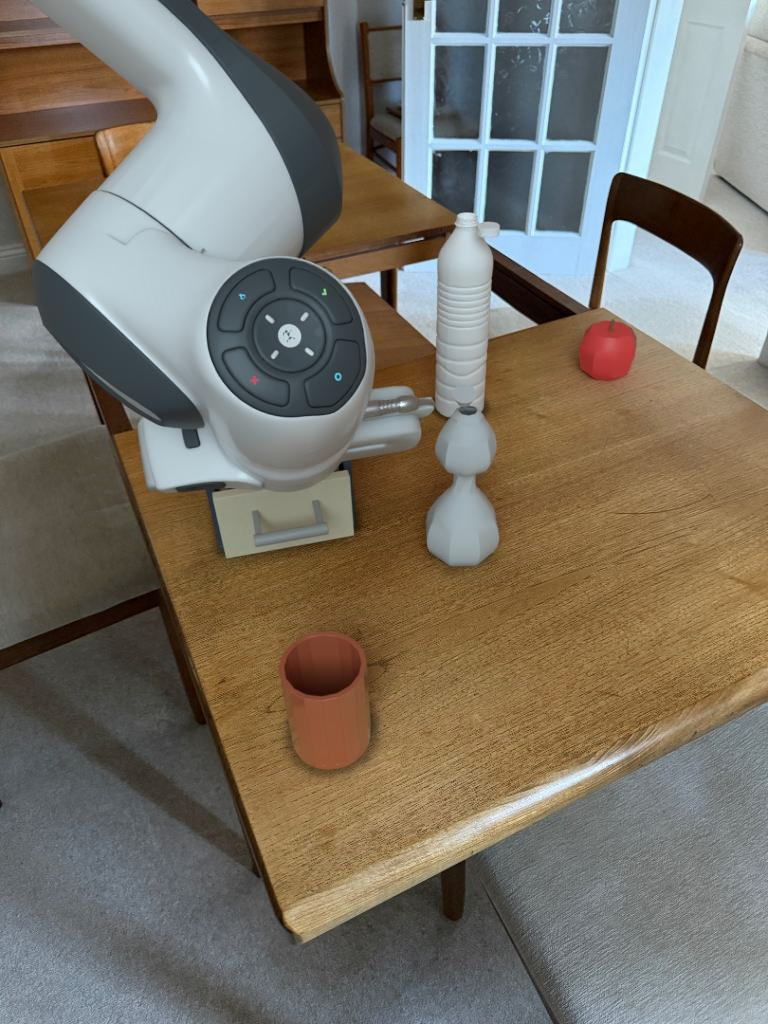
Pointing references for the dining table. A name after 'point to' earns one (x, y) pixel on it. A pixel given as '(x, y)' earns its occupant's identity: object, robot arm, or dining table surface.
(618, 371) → the apple
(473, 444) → the gourd bottle
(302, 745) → the cup
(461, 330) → the water bottle
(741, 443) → the dining table surface
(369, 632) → the dining table surface
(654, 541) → the dining table surface
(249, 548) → the drawer
